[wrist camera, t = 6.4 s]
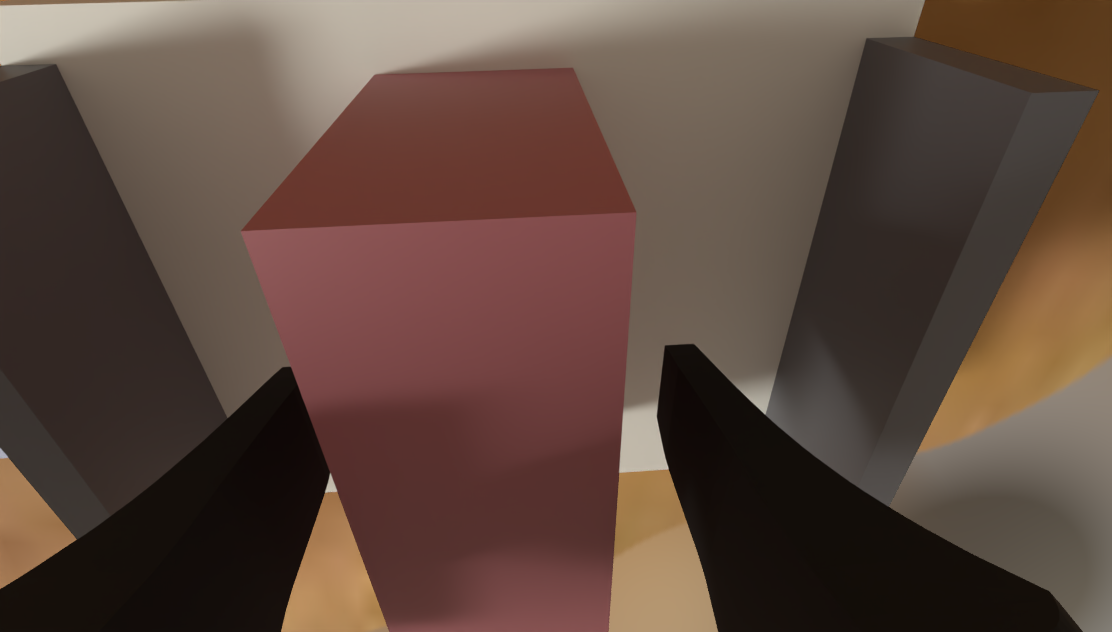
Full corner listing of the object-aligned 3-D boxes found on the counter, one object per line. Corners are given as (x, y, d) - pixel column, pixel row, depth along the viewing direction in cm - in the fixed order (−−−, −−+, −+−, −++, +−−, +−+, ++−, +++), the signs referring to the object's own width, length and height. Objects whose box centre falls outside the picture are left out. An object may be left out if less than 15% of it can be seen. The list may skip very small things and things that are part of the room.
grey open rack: (256, 450, 20) (164, 644, 15) (44, -6, 12) (-330, 54, 7) (759, 418, 21) (846, 590, 15) (877, -28, 13) (1139, 11, 7)
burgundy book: (441, 427, 17) (408, 682, 11) (374, 74, 11) (240, 231, 6) (573, 418, 17) (606, 665, 12) (573, 67, 12) (637, 212, 6)
